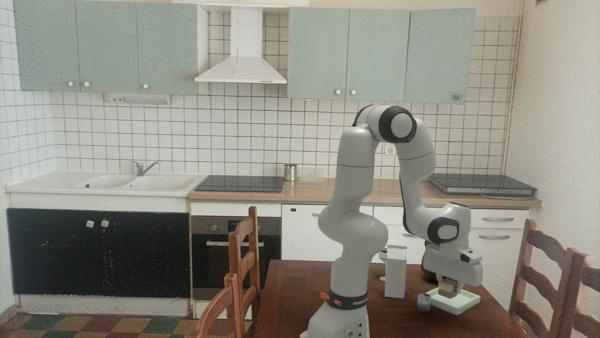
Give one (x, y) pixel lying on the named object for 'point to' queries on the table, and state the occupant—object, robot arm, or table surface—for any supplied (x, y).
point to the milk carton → (395, 271)
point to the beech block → (447, 288)
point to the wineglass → (383, 260)
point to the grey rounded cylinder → (423, 302)
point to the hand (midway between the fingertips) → (449, 289)
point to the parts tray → (454, 301)
